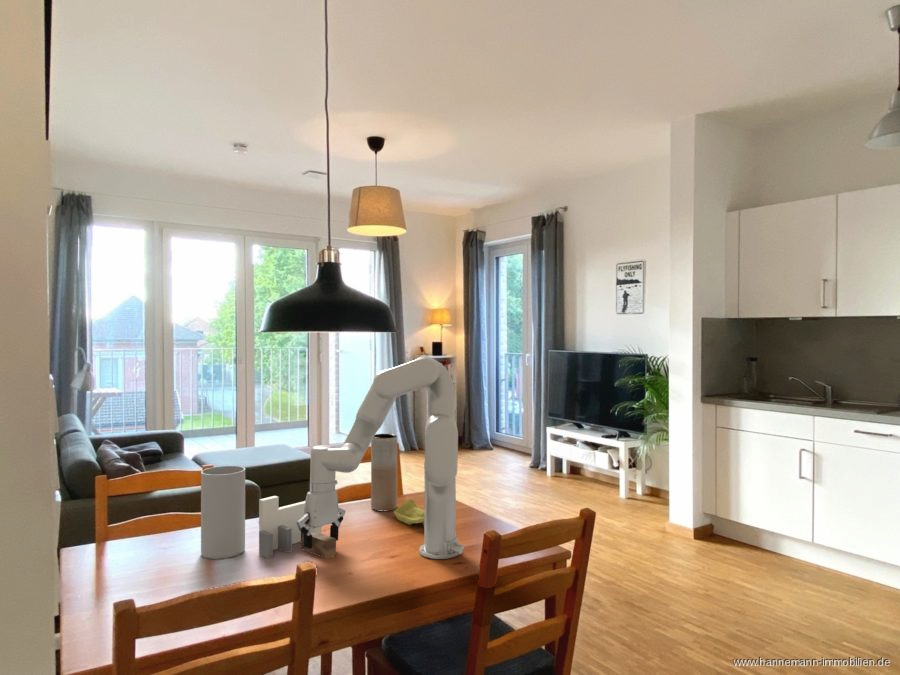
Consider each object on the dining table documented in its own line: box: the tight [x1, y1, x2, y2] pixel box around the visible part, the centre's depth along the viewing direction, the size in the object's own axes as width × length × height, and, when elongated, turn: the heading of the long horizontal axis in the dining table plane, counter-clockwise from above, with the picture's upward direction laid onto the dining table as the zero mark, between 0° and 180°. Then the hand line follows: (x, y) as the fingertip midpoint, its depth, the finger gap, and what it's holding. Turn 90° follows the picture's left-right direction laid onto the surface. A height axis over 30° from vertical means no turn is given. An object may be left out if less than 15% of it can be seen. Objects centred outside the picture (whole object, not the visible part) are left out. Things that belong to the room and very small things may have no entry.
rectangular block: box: [300, 527, 337, 559], centre depth 177 cm, size 13×4×6 cm, turn 50°
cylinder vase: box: [200, 465, 246, 560], centre depth 177 cm, size 12×12×25 cm
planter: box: [370, 433, 398, 512], centre depth 224 cm, size 10×10×28 cm
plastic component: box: [393, 499, 424, 527], centre depth 206 cm, size 20×7×10 cm
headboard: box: [258, 495, 322, 559], centre depth 183 cm, size 7×23×16 cm, turn 140°
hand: (321, 543), depth 176 cm, fingers open, 9 cm apart
